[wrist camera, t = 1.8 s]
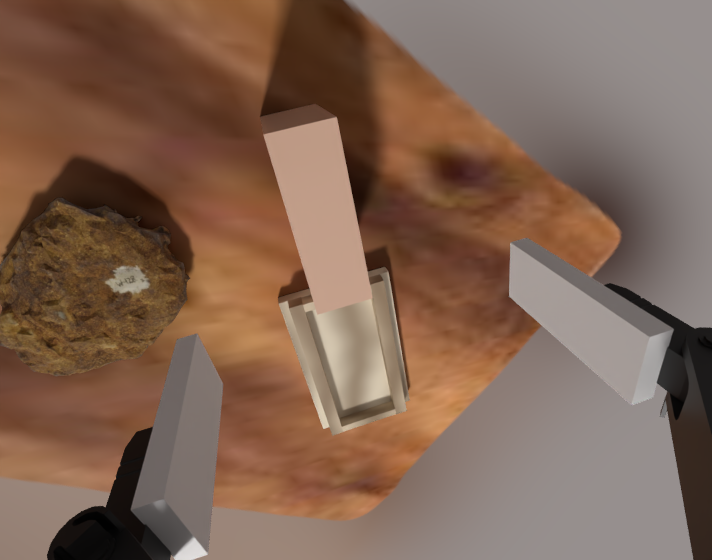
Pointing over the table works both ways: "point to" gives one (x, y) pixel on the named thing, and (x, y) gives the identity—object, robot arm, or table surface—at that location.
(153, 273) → the decorative rock
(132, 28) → the table surface
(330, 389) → the cream rectangular tray
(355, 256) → the clay block
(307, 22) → the table surface
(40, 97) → the table surface
